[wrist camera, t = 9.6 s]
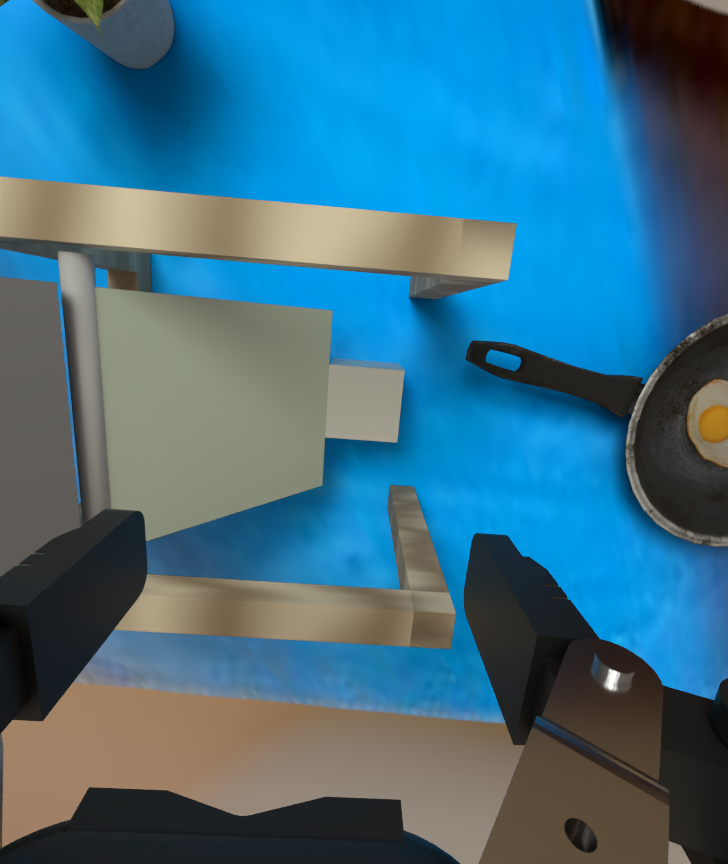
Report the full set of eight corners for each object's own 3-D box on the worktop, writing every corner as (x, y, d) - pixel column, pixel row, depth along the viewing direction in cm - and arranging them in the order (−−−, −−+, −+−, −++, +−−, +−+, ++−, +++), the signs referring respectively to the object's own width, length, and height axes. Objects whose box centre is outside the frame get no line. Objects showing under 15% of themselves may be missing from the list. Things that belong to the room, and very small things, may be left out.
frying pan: (763, 551, 38) (806, 575, 34) (419, 458, 35) (426, 474, 32) (883, 342, 33) (947, 345, 30) (499, 218, 31) (518, 205, 27)
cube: (325, 437, 29) (397, 442, 30) (329, 364, 28) (404, 370, 28) (329, 421, 34) (391, 425, 34) (333, 357, 33) (397, 363, 33)
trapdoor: (-52, 577, 19) (-34, 635, 16) (-117, 234, 16) (-109, 223, 13) (282, 482, 33) (327, 503, 30) (289, 289, 30) (340, 291, 27)
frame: (135, 489, 36) (-37, 621, 20) (121, 243, 31) (-120, 165, 15) (411, 508, 36) (450, 649, 21) (438, 271, 31) (516, 223, 16)
